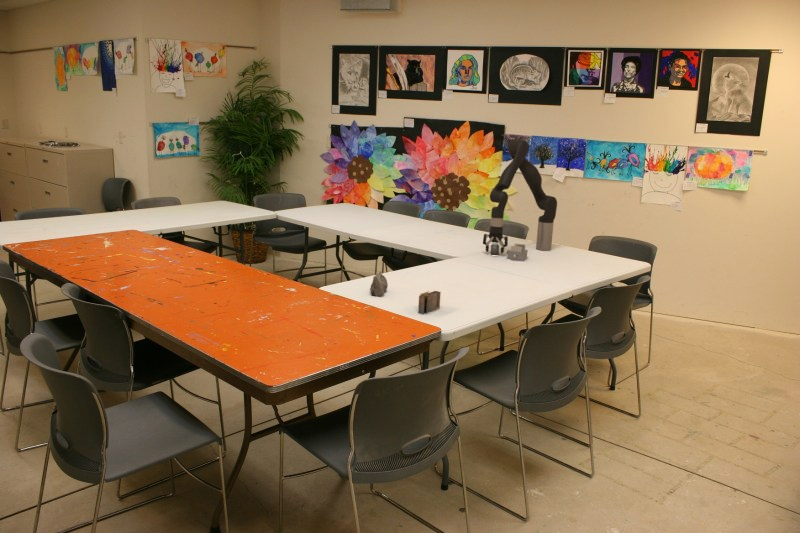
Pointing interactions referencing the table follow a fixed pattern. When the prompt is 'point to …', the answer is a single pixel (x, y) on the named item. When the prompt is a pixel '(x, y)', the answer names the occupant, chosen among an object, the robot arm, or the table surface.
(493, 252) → the pump
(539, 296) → the table surface
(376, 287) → the mineral rock
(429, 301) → the brown flat block
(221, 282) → the table surface
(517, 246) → the motor
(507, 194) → the robot arm
